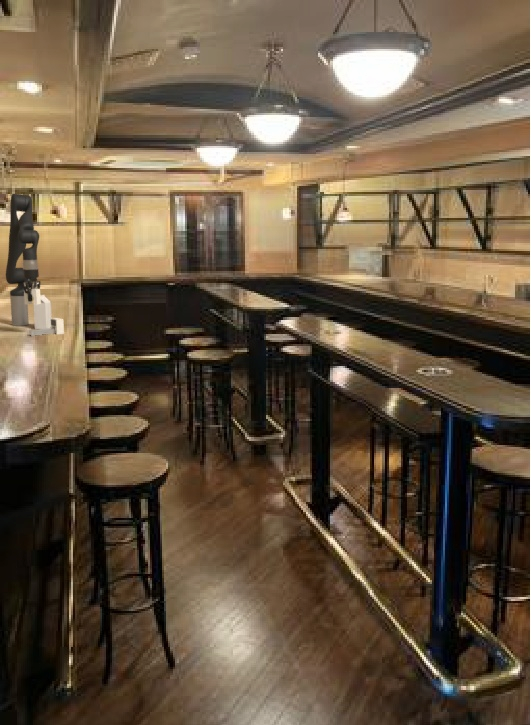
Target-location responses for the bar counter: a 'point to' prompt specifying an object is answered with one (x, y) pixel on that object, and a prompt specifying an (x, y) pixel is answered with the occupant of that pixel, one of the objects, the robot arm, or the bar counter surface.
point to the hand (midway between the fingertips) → (32, 300)
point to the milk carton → (42, 314)
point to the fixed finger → (57, 325)
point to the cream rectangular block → (35, 296)
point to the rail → (42, 331)
